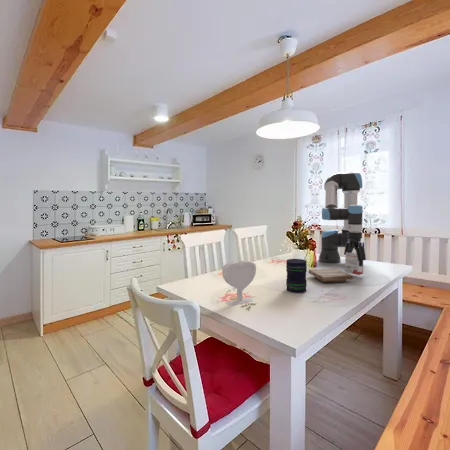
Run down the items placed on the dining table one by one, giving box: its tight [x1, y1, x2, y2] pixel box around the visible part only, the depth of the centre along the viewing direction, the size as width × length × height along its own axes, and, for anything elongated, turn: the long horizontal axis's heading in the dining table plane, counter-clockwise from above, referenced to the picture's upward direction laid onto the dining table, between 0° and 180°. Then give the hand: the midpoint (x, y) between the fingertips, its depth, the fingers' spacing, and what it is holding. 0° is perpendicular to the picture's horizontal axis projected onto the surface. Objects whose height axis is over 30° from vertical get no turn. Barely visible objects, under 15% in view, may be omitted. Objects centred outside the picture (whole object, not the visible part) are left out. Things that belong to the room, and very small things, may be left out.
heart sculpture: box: [221, 259, 257, 307], centre depth 120 cm, size 16×5×18 cm, turn 118°
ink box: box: [344, 252, 364, 276], centre depth 158 cm, size 8×5×12 cm, turn 39°
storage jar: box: [285, 258, 308, 294], centre depth 135 cm, size 10×10×15 cm
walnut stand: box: [308, 267, 354, 284], centre depth 153 cm, size 17×17×4 cm
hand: (354, 269), depth 158 cm, fingers closed on ink box, 9 cm apart
